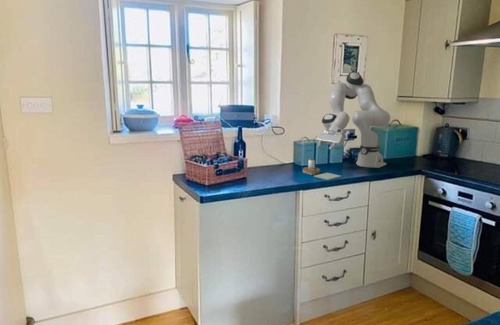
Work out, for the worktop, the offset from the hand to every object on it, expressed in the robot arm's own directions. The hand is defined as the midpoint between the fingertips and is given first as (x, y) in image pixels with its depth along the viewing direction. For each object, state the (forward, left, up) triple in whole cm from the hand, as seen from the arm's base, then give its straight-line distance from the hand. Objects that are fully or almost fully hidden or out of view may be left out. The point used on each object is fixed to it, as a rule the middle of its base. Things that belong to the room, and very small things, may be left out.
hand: (324, 148), depth 244 cm
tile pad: (+12, +13, -15) cm, 23 cm away
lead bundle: (+12, 0, -15) cm, 19 cm away
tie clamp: (+12, 0, -15) cm, 19 cm away
